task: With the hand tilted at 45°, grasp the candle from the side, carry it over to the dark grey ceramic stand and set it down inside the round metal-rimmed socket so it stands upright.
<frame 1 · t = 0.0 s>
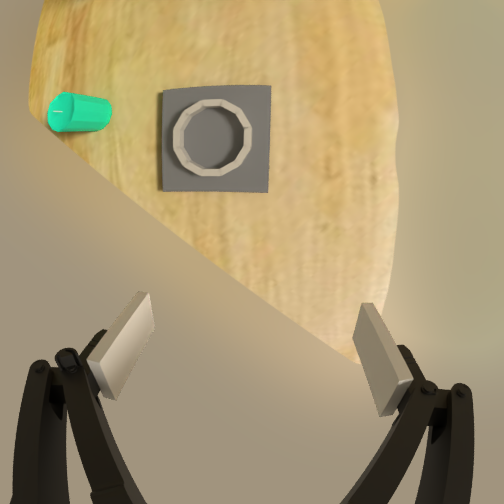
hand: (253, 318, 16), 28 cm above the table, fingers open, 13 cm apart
candle: (98, 114, 37), on the table
candle stand: (215, 138, 39), on the table
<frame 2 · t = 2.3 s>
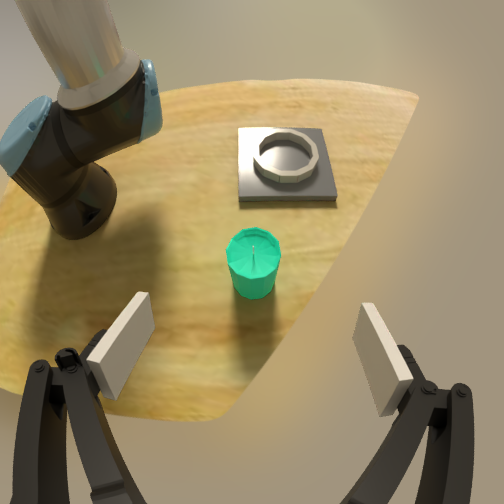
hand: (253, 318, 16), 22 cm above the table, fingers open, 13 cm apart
candle: (253, 279, 40), on the table
candle stand: (284, 163, 47), on the table
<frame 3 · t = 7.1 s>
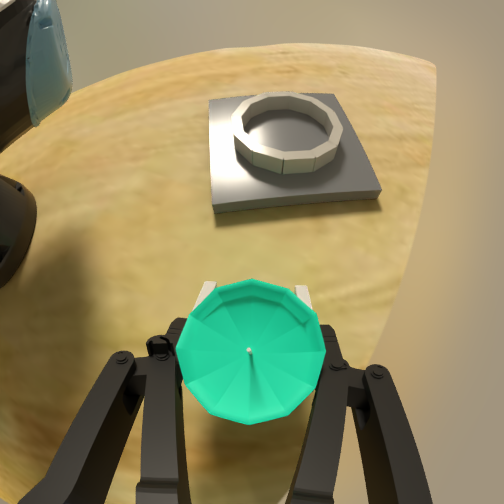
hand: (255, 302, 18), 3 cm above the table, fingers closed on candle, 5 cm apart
candle: (254, 359, 20), on the table, touching gripper
candle stand: (285, 144, 28), on the table
when the fingers open (5 cm above the table, at t = 13.9 s): candle stays where it is, resting on candle stand.
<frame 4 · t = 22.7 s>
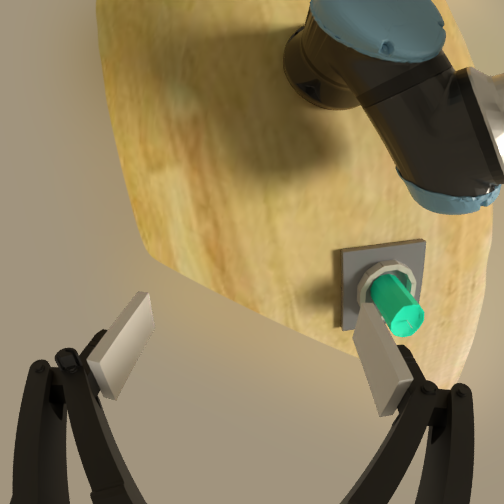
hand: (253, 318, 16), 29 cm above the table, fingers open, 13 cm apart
candle: (384, 288, 45), point 1 cm above the table, touching candle stand
candle stand: (382, 284, 47), on the table
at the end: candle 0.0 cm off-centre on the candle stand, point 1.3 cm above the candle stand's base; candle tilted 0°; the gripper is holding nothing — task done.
